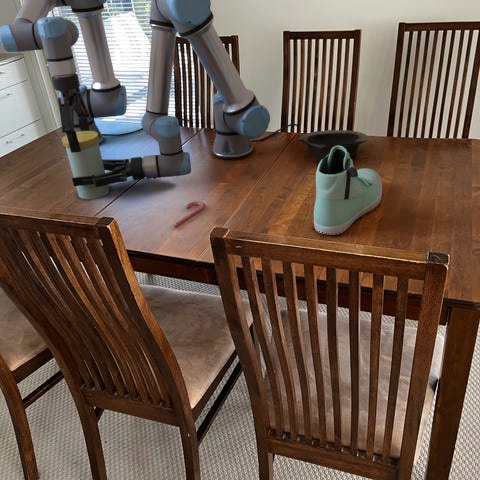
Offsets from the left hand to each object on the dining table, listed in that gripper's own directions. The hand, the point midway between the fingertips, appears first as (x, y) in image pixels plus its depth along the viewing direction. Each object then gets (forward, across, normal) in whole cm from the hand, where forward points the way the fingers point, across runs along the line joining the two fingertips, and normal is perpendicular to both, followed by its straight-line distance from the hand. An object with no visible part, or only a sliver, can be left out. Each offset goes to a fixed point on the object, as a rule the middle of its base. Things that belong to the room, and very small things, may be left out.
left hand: (81, 144), depth 152 cm
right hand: (+10, 0, -4) cm, 11 cm away
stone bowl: (+17, -18, +83) cm, 87 cm away
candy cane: (+17, +21, +34) cm, 43 cm away
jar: (+17, 0, 0) cm, 17 cm away
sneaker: (+17, +23, +81) cm, 85 cm away
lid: (-2, 0, 0) cm, 2 cm away
